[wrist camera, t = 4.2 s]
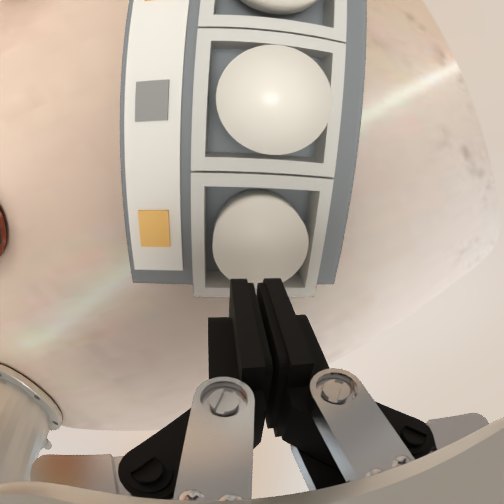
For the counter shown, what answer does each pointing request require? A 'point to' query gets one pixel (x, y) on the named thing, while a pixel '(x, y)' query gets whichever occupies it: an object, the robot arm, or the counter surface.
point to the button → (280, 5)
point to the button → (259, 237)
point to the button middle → (274, 99)
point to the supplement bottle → (2, 233)
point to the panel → (221, 142)
